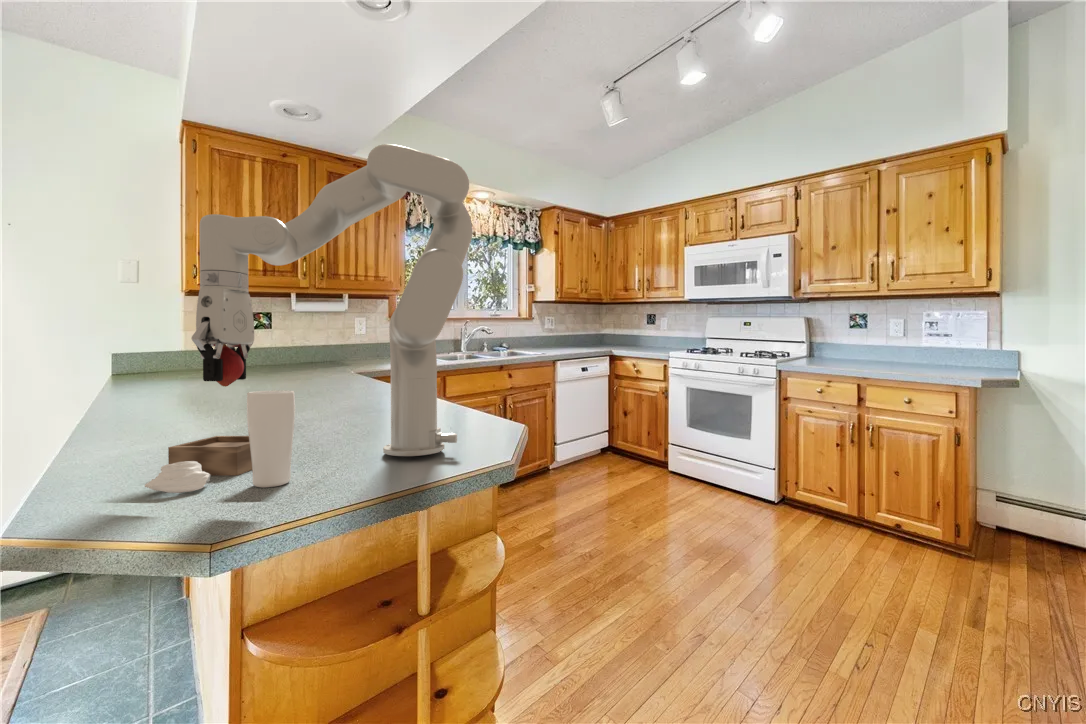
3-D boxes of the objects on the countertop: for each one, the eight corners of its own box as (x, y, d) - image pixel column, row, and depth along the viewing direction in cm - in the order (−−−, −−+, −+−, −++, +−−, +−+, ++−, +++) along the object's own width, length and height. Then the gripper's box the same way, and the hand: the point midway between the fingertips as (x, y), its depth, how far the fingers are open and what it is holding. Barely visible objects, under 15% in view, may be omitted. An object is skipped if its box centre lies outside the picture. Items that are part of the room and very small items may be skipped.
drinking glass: (264, 478, 79) (264, 390, 79) (303, 478, 79) (303, 390, 79) (237, 489, 72) (236, 393, 72) (280, 490, 72) (279, 393, 72)
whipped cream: (143, 502, 67) (143, 468, 67) (146, 492, 72) (145, 460, 72) (211, 492, 72) (211, 461, 72) (209, 483, 77) (209, 454, 77)
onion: (240, 385, 92) (239, 344, 91) (247, 386, 87) (246, 343, 87) (203, 386, 87) (203, 343, 87) (209, 387, 83) (209, 343, 83)
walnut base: (276, 460, 94) (276, 435, 93) (237, 475, 82) (237, 446, 81) (216, 460, 93) (216, 435, 93) (168, 475, 81) (168, 447, 81)
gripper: (212, 275, 79) (213, 382, 79) (271, 290, 96) (272, 378, 96) (167, 275, 79) (168, 382, 79) (234, 290, 96) (235, 378, 96)
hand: (225, 379), depth 87 cm, fingers closed on onion, 5 cm apart
